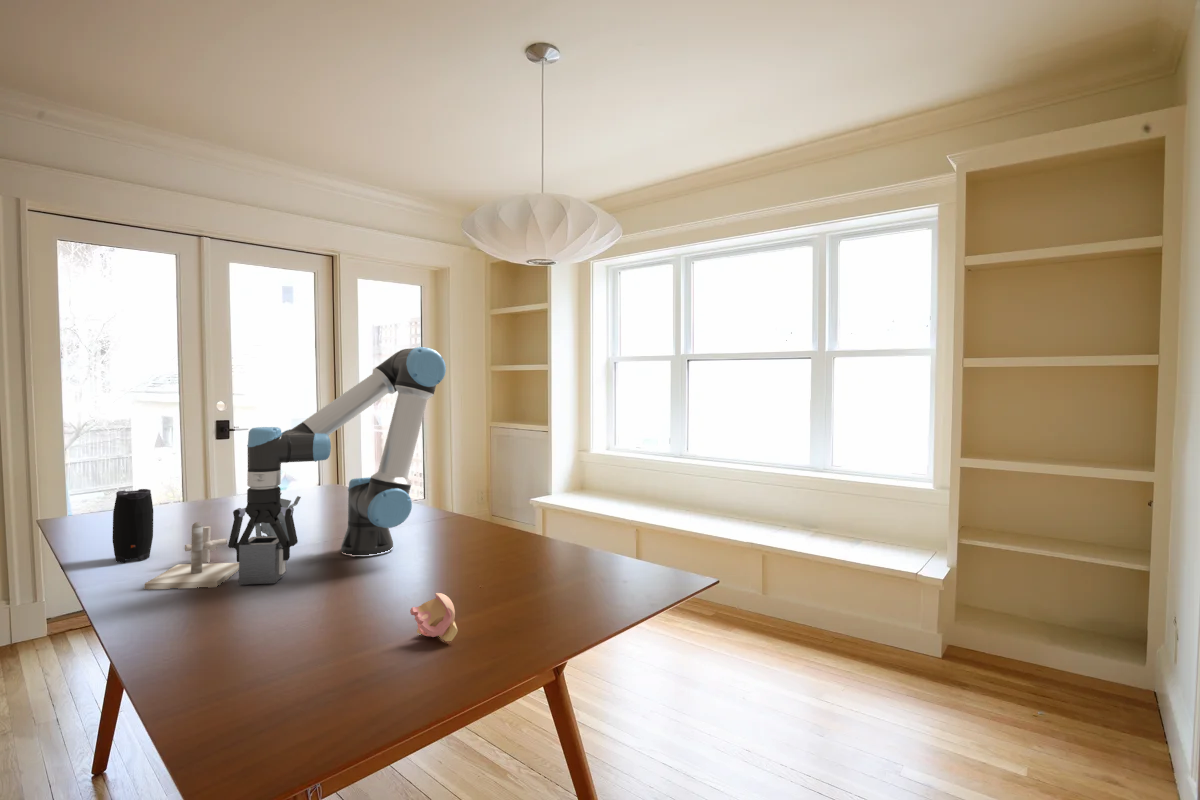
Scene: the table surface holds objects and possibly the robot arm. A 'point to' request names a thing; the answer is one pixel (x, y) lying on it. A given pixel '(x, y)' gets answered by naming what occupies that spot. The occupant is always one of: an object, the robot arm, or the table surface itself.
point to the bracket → (268, 528)
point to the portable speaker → (132, 525)
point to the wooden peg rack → (207, 544)
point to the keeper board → (193, 579)
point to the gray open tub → (259, 560)
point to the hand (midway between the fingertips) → (263, 573)
